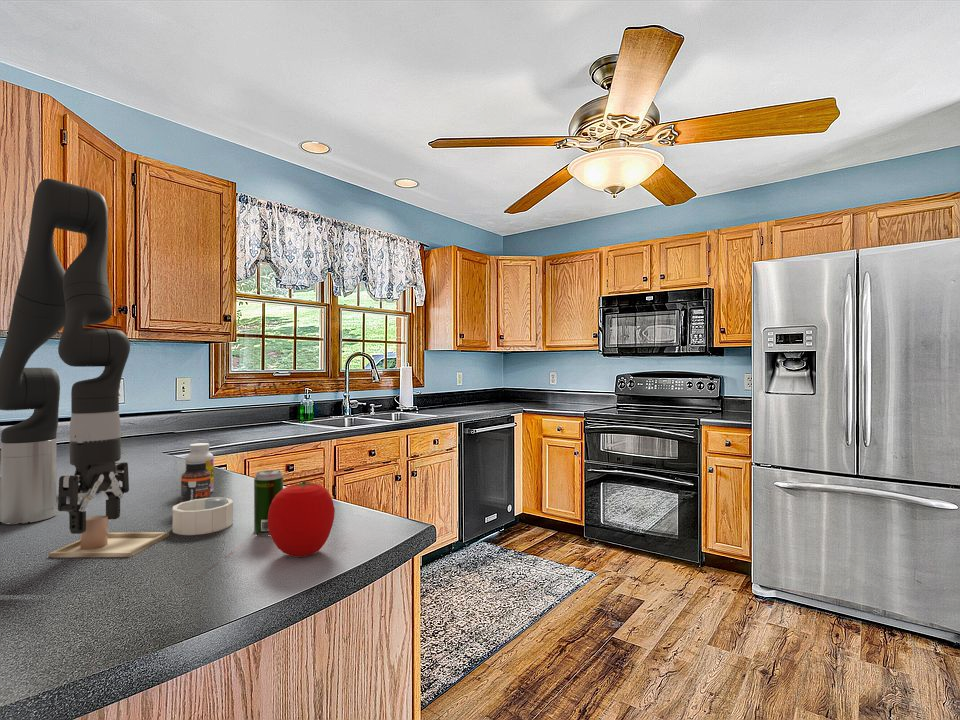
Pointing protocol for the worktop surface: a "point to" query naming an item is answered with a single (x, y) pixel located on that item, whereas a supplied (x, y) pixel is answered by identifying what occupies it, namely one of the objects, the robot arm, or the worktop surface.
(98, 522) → the beige cylinder
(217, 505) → the gray metal cylinder
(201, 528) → the bowl
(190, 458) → the supplement bottle
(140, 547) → the parts tray
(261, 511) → the beer can
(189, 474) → the supplement bottle
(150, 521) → the worktop surface
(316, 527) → the red round fruit
